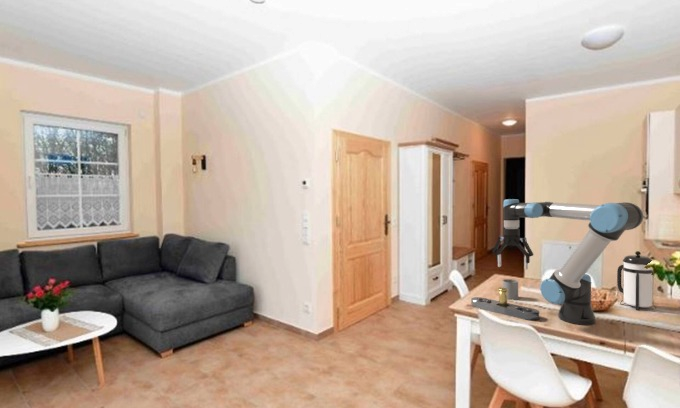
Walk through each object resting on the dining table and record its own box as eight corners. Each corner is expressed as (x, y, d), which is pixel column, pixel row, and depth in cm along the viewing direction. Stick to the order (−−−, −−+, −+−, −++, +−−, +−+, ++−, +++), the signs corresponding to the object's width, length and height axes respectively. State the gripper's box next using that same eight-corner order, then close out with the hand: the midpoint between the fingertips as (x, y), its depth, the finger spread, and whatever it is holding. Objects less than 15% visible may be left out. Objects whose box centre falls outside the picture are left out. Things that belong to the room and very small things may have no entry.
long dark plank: (542, 317, 181) (542, 309, 181) (535, 321, 175) (535, 313, 175) (476, 302, 207) (476, 295, 207) (468, 305, 202) (468, 298, 201)
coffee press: (657, 306, 194) (658, 250, 193) (654, 313, 183) (655, 254, 182) (617, 299, 207) (617, 247, 206) (612, 306, 196) (612, 251, 195)
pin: (509, 311, 191) (509, 288, 191) (505, 313, 188) (505, 290, 188) (500, 309, 195) (500, 287, 194) (496, 311, 192) (496, 288, 191)
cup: (500, 297, 215) (500, 281, 215) (505, 294, 221) (505, 278, 221) (515, 300, 209) (515, 283, 209) (520, 297, 215) (520, 280, 215)
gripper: (539, 228, 187) (540, 269, 187) (491, 226, 205) (492, 264, 205) (534, 229, 182) (535, 271, 182) (485, 227, 199) (486, 266, 200)
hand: (512, 267), depth 194 cm, fingers open, 13 cm apart
